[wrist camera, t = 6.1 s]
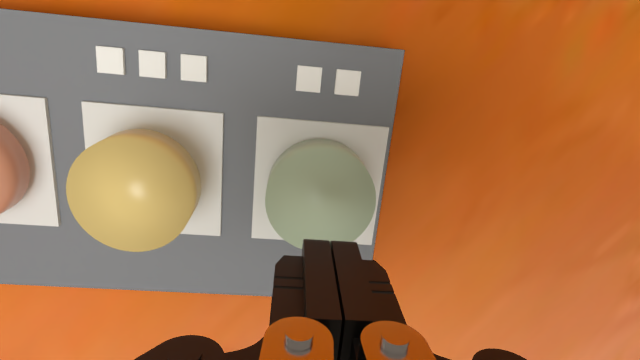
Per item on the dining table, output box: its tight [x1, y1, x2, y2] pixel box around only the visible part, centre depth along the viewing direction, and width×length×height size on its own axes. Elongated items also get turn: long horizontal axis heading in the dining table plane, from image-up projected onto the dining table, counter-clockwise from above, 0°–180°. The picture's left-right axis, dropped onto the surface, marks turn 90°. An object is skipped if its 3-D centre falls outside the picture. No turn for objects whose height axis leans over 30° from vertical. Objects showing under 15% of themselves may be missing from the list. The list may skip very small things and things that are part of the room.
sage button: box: [265, 139, 376, 249], centre depth 17 cm, size 4×4×2 cm
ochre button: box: [66, 129, 201, 252], centre depth 16 cm, size 4×4×2 cm
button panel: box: [0, 9, 405, 296], centre depth 19 cm, size 20×12×3 cm, turn 84°
